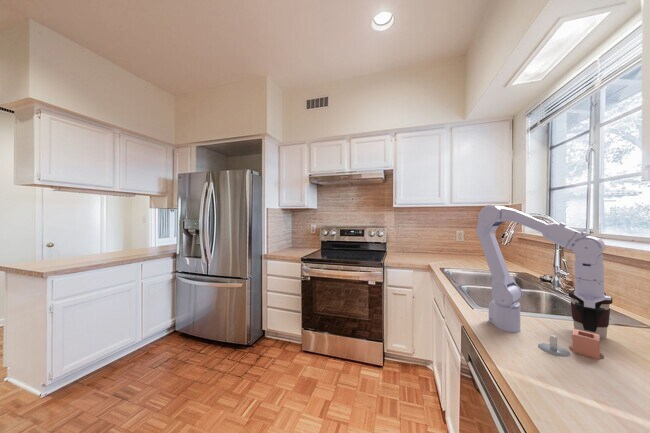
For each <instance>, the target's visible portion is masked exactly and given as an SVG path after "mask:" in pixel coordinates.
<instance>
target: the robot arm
mask: <svg viewBox="0 0 650 433" xmlns="http://www.w3.org/2000/svg"><path fill="white" fill-rule="evenodd" d="M477 218H478V219H477V224H476V229H475V232H476V235H477V238H478V240H479V244H480V246H481V248H482V249H481V250H482V251H483V255H484V257H485V261H486V262H487V265H488V269H489V272H490V274H491V282H490V283H491V284H490V286H491V289H492V290H491V298H492V300H491V301H490V302H489V303H488V322H490V323H491V324H492V325H494V326H495V327H496V328H498V329H499V330H502V331H503V332H504V331H505V332H510V333H518V332H521V303H520V301H519V300H521V299H522V298H523V291H522V289H521V287H520V286H519V285H518V284H517V283H516V280H515V279H514V277H513V276H511V275H510V272H509V269H508V267H507V266H508V265H507V264H506V262H505V259H504V255H503V253H502V250H501V249H500V245H499V242H498V240H497V237H496V234H495V232H496V230H497V229H498V228H499V226H501V225H502V224H503V223H505V222H514V223H517V224H519V225H521V226H524V227H527V228H530V229H532V230H534V231H537V232H539V233H541V235H542V237H543V238H544V239H545V240H547V241H550V242H552V243H554V244H556V245H559V246H561V247H563V248H565V249H567V250H572V252H573V254H574V255H575V256H574V260H575V261H574V289H575V291H574V295H575V296H576V298H577V300H578V302H579V303H576V302H575V307H576V308H577V310H578V312H579V314H580V316H581V320H582V324H583V327H584V330H587V331H591V332H596V330H597V326H598V322H599V319H600V317H601V316H602V314H603V313H604V312H605V309H604V308H600V306H601V304H602V303H603V302H604V300H611V296H610V295H607V296H605V295H604V292H605V264H604V255H603V253H604V252H605V249H606V244H605V242H604V241H603V240H602V239H601V238H599V237H597V236H596V235H592V234H591V235H590V234H589V235H587V232H585V231H582V230H581V231H578V230H576V229H573V228H571V227H568V226H567V224H566V223H564V222H559V223H558V222H552V223H547V222H545V221H542V220H541V219H538V218H535V217H533V216H531V215H529V214H527V213H524V212H522V211H519V210H517V209H515V208H511V207H507V206H505V205H503V204H502V205H491V204H489V205H488V204H487V205H486V206H485V205H484V207H482V208H481V209H480V211H479V212H478V213H477Z"/></svg>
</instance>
